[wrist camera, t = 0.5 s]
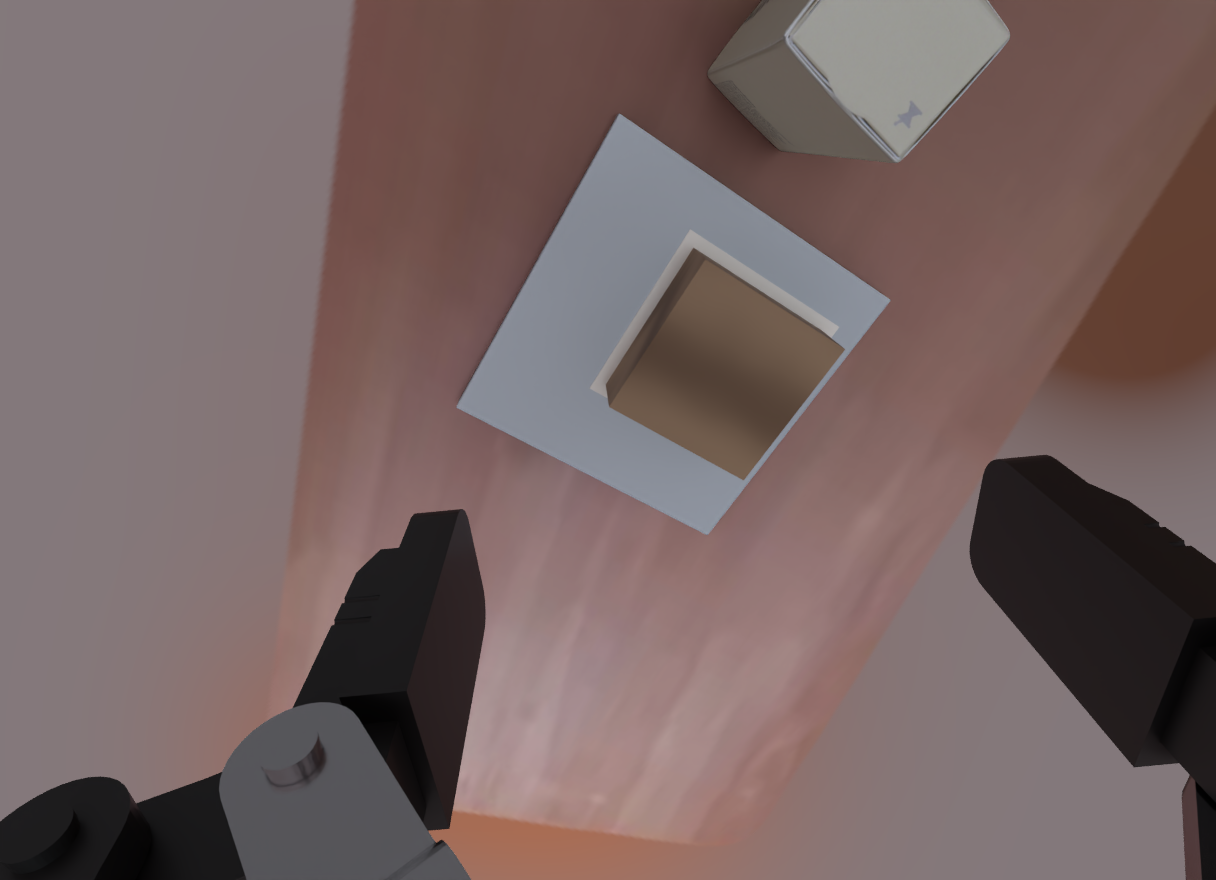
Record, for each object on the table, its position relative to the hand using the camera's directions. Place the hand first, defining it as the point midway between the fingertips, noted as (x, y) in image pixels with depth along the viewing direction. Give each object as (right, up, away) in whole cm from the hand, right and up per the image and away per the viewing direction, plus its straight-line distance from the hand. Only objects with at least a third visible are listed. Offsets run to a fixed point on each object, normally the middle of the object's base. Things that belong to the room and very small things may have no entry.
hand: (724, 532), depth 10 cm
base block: (+4, +6, +24) cm, 24 cm away
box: (+5, +18, +19) cm, 27 cm away
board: (+1, +6, +24) cm, 25 cm away
